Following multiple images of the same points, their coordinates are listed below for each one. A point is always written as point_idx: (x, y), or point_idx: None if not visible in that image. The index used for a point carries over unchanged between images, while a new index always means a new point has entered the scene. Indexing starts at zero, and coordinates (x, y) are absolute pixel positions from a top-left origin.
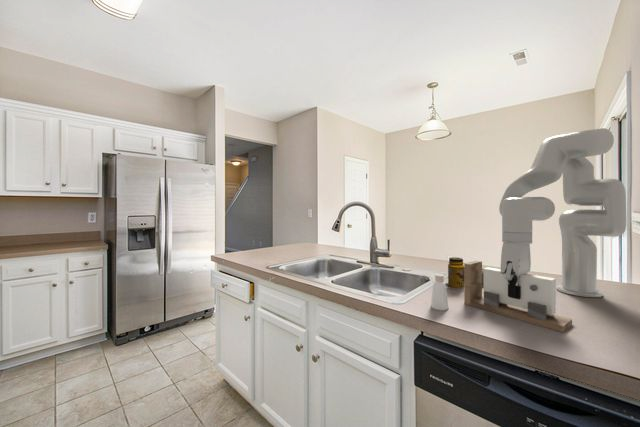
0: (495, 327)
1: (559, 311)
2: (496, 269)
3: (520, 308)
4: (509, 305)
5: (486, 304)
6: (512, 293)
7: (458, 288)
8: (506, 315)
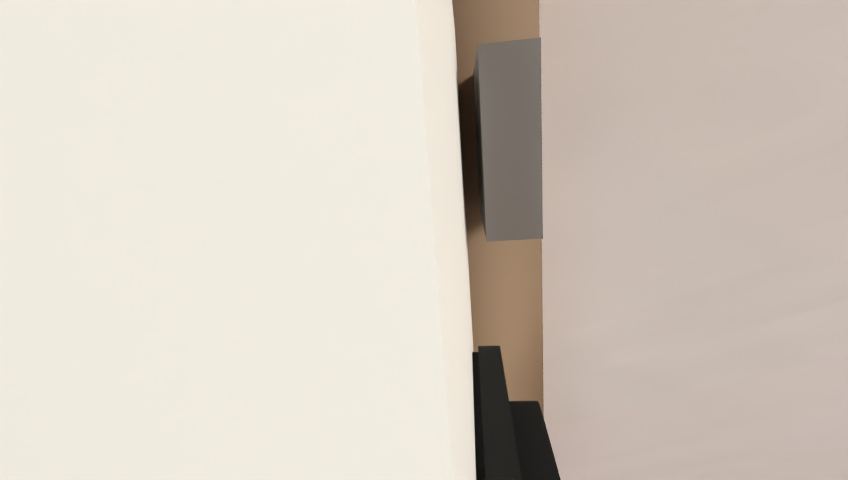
0: None
1: (778, 459)
2: (127, 286)
3: (476, 336)
4: (474, 251)
5: None
6: None
7: None
8: None
